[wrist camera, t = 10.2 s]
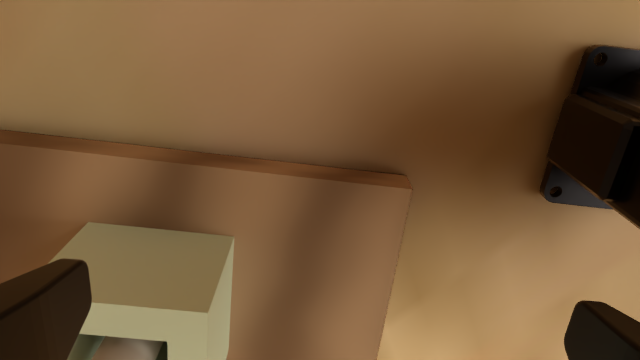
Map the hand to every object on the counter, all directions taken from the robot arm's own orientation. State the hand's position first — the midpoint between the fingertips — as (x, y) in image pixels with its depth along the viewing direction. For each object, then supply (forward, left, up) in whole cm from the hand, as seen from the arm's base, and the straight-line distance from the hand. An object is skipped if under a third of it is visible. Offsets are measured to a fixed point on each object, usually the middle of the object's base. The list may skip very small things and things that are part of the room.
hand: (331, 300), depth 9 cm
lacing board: (+6, +8, -12) cm, 15 cm away
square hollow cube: (+6, +8, -10) cm, 14 cm away
